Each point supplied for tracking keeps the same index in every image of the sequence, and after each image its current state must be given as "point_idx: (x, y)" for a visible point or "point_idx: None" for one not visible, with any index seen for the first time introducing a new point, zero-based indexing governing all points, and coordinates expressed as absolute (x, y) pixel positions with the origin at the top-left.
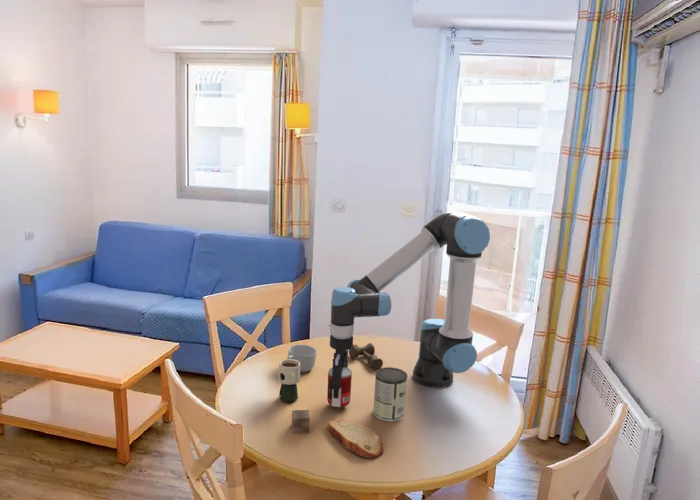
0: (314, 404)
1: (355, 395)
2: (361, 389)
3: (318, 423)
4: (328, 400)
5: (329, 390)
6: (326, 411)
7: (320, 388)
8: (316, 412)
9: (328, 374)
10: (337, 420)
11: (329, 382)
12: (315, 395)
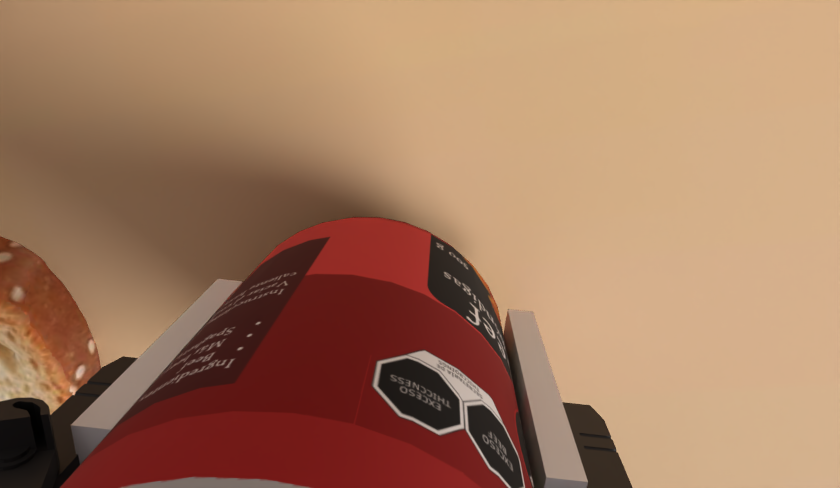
0: (361, 56)
1: (618, 421)
2: (743, 461)
3: (7, 158)
4: (284, 243)
5: (216, 315)
6: (251, 203)
7: (773, 65)
8: (199, 107)
9: (136, 469)
10: (17, 342)
11: (149, 390)
12: (580, 31)
